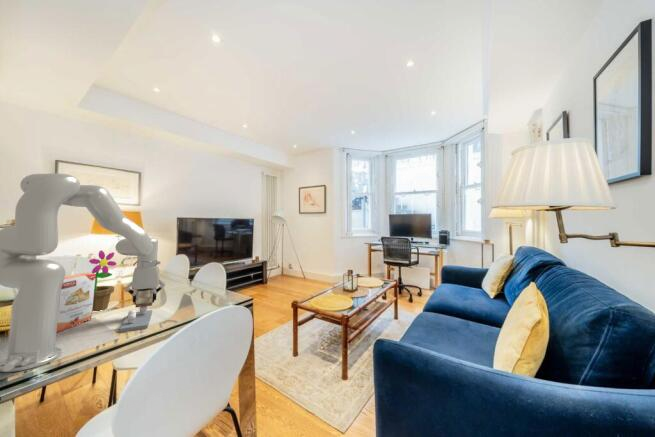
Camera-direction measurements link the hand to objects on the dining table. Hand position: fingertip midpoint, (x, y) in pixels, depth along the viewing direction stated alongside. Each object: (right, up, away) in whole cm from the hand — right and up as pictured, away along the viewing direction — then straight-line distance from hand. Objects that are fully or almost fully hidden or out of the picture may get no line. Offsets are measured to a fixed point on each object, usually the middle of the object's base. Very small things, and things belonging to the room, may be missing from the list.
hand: (144, 302), depth 112 cm
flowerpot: (-31, -6, +7) cm, 32 cm away
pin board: (+1, -7, -6) cm, 9 cm away
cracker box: (-23, -6, -12) cm, 26 cm away
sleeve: (0, -1, 0) cm, 1 cm away
